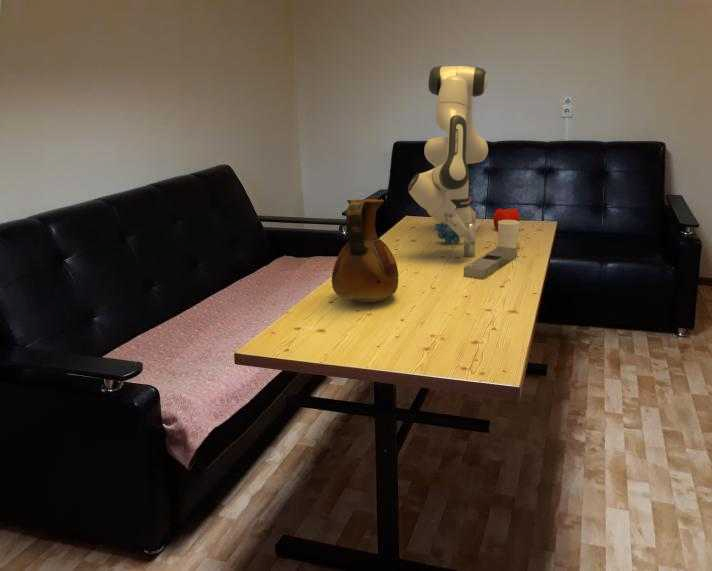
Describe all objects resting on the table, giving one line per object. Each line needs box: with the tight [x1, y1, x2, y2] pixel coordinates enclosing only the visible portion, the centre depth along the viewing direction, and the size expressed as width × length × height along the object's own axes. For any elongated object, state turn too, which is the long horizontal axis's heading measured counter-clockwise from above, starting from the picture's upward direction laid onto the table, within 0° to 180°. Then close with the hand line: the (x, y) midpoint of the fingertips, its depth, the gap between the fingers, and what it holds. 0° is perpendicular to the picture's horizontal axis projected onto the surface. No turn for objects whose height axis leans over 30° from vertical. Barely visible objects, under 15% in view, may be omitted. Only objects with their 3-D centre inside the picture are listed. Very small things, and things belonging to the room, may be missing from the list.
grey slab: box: [463, 246, 518, 280], centre depth 236 cm, size 32×7×3 cm, turn 148°
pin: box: [463, 222, 477, 258], centre depth 248 cm, size 4×4×12 cm
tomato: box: [492, 208, 521, 230], centre depth 288 cm, size 11×12×9 cm
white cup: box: [497, 220, 520, 249], centre depth 259 cm, size 8×8×10 cm
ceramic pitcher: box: [331, 198, 399, 303], centre depth 201 cm, size 20×20×30 cm
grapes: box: [433, 223, 462, 245], centre depth 265 cm, size 12×7×12 cm, turn 79°
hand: (470, 238), depth 247 cm, fingers open, 8 cm apart
